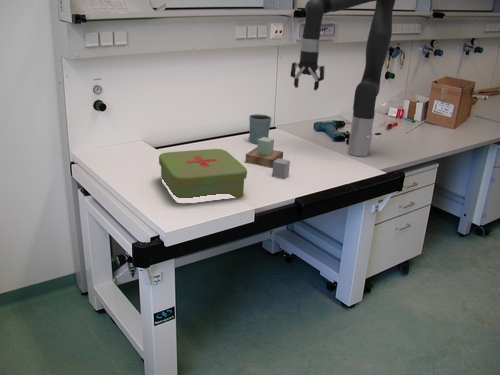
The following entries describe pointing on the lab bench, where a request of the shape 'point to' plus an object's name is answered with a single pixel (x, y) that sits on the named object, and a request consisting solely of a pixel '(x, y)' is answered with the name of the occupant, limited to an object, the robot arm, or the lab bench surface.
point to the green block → (265, 146)
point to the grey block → (281, 168)
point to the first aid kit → (202, 173)
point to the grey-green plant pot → (259, 127)
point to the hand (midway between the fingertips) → (305, 88)
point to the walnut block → (263, 158)
